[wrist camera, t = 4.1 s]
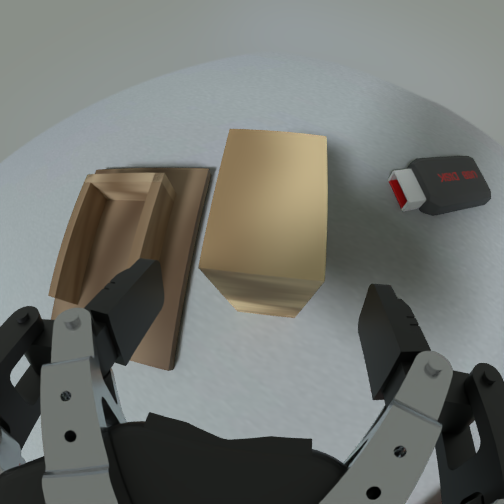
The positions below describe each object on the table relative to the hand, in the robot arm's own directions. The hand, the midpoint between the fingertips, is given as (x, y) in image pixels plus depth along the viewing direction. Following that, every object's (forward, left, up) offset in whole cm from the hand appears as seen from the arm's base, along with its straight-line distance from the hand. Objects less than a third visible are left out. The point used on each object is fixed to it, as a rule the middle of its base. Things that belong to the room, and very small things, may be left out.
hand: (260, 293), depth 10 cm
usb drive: (-16, -13, -10) cm, 23 cm away
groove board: (+12, -3, -9) cm, 15 cm away
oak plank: (0, -3, -9) cm, 10 cm away
